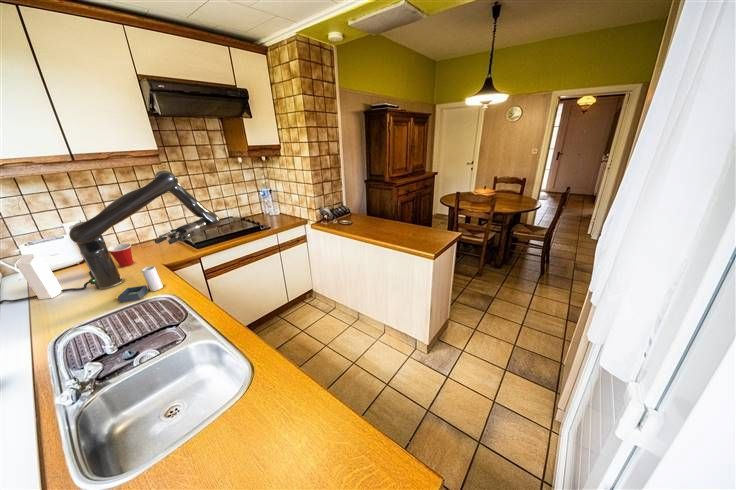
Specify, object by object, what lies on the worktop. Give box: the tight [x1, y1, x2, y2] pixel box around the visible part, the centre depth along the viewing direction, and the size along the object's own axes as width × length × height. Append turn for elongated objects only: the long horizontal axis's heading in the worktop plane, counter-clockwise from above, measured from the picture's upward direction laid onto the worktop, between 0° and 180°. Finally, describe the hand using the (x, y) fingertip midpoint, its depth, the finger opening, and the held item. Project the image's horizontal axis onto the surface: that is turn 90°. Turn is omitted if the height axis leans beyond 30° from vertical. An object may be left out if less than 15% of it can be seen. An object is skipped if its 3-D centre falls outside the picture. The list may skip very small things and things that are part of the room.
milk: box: [16, 253, 63, 300], centre depth 125 cm, size 6×6×22 cm
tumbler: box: [141, 265, 164, 292], centre depth 128 cm, size 5×5×11 cm
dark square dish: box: [117, 284, 150, 303], centre depth 124 cm, size 8×8×3 cm
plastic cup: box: [107, 242, 134, 268], centre depth 155 cm, size 11×11×12 cm
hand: (162, 242), depth 132 cm, fingers open, 8 cm apart
